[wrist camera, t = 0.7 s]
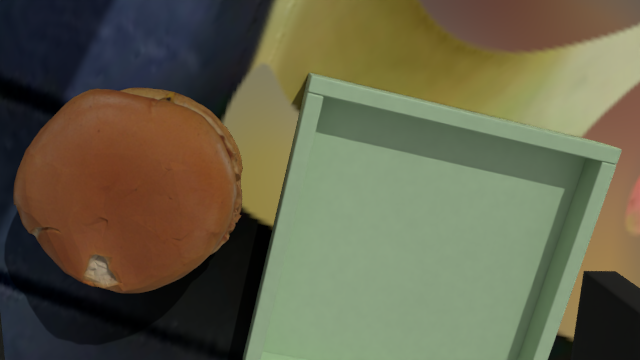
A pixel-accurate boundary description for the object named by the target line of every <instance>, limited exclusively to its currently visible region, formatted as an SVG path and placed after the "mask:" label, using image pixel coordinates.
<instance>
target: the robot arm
mask: <svg viewBox="0 0 640 360" xmlns="http://www.w3.org/2000/svg"><path fill="white" fill-rule="evenodd" d="M0 360H5V357H4V346H3V336H2V325H1V315H0ZM571 360H640V288H638V287H637V286H636V285H634V284H633V283H631V282H630V281H629V280H627V279H626V278H624V277H623V276H621V275H620V274H618V273H617V272H615V271H611V272H610V271H584V274H583V281H582V287H581V294H580V301H579V307H578V314H577V322H576V327H575V334H574V341H573V348H572V354H571Z"/></svg>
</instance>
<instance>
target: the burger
mask: <svg viewBox="0 0 640 360" xmlns="http://www.w3.org/2000/svg"><path fill="white" fill-rule="evenodd" d="M242 169H243V167H242V160H241V156H240V152H239V149H238V147H237V145H236V143H235V141H234V139H233V137H232V135H231V134H230V132H229V131H228V129H227V128H226V127H225V126H224V125H223V124H222V122H221V121H220V120H219V119H218V118H217V117H216V116H215V115H214V114H213V113H212V112H211V111H210V110H209V109H207V108H206V107H204V106H203V105H201V104H199V103H197V102H195V101H194V100H192V99H191V98H188V97H185V96H183V95H180V94H178V93H175V92H171V91H166V90H157V89H150V88H128V89H124V90H120V91H116V90H108V89H92V90H88V91H86V92H84V93H82V94H80V95H78V96H75V97H73V98H72V99H71V100H70V101H69V102H67V103H66V104H65V105H64V106H63V107H62V108H61V109H60V110H59V111H58V112H57V113H56V114H55V115H54V116H53V117H52V118H51V119H50V120H49V121H48V122H47V123H46V124H45V125H44V126H43V127H42V128H41V130H40V131H39V133H38V134H37V135H36V137H35V138H34V139H33V141H32V142H31V144H30V146H29V147H28V148H27V149H26V151H25V154H24V156H23V159H22V161H21V163H20V166H19V168H18V171H17V175H16V179H15V183H14V195H13V197H14V205H16V206H17V209H18V212H19V215H20V218H21V221H22V224H23V225H24V227H25V228H26V230H27V231H28V232H29V233H30V234H33V235H34V236H35V237H36V239H37V241H38V242H39V244H40V245H41V246H42V248H43V249H44V251H45V252H46V253H47V254H48V255H49V257H50V258H51V259H52V260H53V261H54V262H55V263H56V264H57V265H58V266H59V267H60V268H61V269H62V270H63V271H64V272H65V273H66V274H68V275H70V276H72V277H73V278H75V279H77V280H78V281H80V282H83V283H85V284H88V285H91V286H94V287H101V288H105V289H108V290H111V291H115V292H118V293H142V292H147V291H151V290H154V289H157V288H160V287H162V286H164V285H167V284H169V283H172V282H174V281H176V280H178V279H180V278H182V277H184V276H185V275H187V274H188V273H189V272H191V271H192V270H193V269H195V268H196V267H198V266H199V265H200V264H201V263H202V262H203V261H204V260H205V259H206V258H207V257H208V256H209V255H211V254H213V253H214V252H216V251H217V250H218V249H219V248H220V247H221V245H222V244H224V243H225V242H226V241H227V240H228V238H229V234H230V233H231V232H232V231H233V229H234V228H235V223H236V222H238V219H239V218H240V217H241V216H242V215H239V214H240V211H241V206H242V190H241V173H242Z"/></svg>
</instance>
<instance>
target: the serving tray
mask: <svg viewBox="0 0 640 360" xmlns="http://www.w3.org/2000/svg"><path fill="white" fill-rule="evenodd" d="M620 153H621V149H619V148H616V147H613V146H610V145H607V144H604V143H601V142H597V141H592V140H588V139H584V138H580V137H576V136H572V135H568V134H563V133H559V132H555V131H551V130H547V129H543V128H538V127H534V126H530V125H526V124H522V123H517V122H513V121H509V120H505V119H501V118H497V117H492V116H488V115H484V114H480V113H476V112H472V111H467V110H463V109H459V108H455V107H451V106H447V105H442V104H438V103H434V102H430V101H426V100H422V99H417V98H413V97H409V96H405V95H401V94H397V93H392V92H388V91H384V90H380V89H376V88H371V87H367V86H363V85H359V84H355V83H351V82H346V81H342V80H338V79H334V78H330V77H326V76H321V75H317V74H313V73H309V75H308V79H307V83H306V88H305V92H304V96H303V100H302V105H301V109H300V113H299V118H298V122H297V126H296V131H295V135H294V139H293V144H292V148H291V152H290V156H289V161H288V165H287V170H286V174H285V178H284V182H283V187H282V191H281V195H280V199H279V204H278V208H277V213H276V217H275V221H274V225H273V230H272V234H271V238H270V243H269V247H268V251H267V255H266V260H265V264H264V268H263V273H262V277H261V281H260V286H259V290H258V294H257V299H256V303H255V307H254V311H253V316H252V320H251V324H250V329H249V333H248V337H247V342H246V346H245V350H244V355H243V360H547V359H548V357H549V354H550V351H551V348H552V345H553V343H554V340H555V337H556V334H557V331H558V328H559V325H560V323H561V320H562V317H563V314H564V311H565V309H566V306H567V303H568V300H569V298H570V295H571V292H572V289H573V286H574V283H575V281H576V278H577V275H578V272H579V269H580V267H581V264H582V261H583V258H584V255H585V253H586V250H587V246H588V244H589V241H590V238H591V236H592V233H593V230H594V227H595V224H596V221H597V218H598V216H599V213H600V210H601V207H602V205H603V202H604V199H605V196H606V193H607V191H608V187H609V185H610V182H611V179H612V176H613V174H614V171H615V168H616V165H615V164H617V162H618V159H619V156H620Z"/></svg>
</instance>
